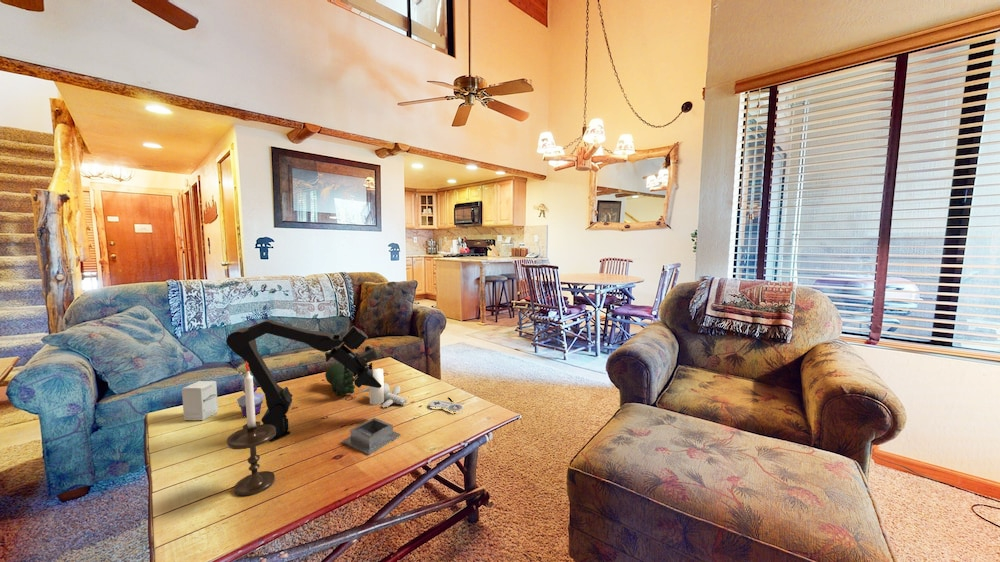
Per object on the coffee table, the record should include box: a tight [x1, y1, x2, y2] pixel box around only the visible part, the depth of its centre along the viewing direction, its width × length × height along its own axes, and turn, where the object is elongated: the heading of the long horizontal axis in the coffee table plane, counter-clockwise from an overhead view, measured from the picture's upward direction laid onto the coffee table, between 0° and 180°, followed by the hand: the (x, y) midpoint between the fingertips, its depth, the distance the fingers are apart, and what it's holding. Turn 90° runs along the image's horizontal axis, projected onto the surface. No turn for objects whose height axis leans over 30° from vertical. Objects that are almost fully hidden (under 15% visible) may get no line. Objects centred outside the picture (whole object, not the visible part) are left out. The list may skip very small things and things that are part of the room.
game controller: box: [428, 399, 464, 412], centre depth 146 cm, size 15×13×2 cm
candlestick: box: [226, 362, 276, 497], centre depth 95 cm, size 11×11×35 cm
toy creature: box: [360, 382, 408, 409], centre depth 148 cm, size 13×7×20 cm
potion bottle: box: [236, 382, 265, 418], centre depth 136 cm, size 9×9×12 cm
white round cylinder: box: [368, 367, 385, 406], centre depth 132 cm, size 5×5×12 cm
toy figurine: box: [324, 363, 356, 397], centre depth 158 cm, size 9×19×25 cm
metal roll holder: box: [342, 417, 401, 456], centre depth 119 cm, size 13×13×4 cm
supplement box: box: [181, 380, 219, 422], centre depth 134 cm, size 7×7×13 cm
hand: (380, 384), depth 133 cm, fingers closed on white round cylinder, 5 cm apart
